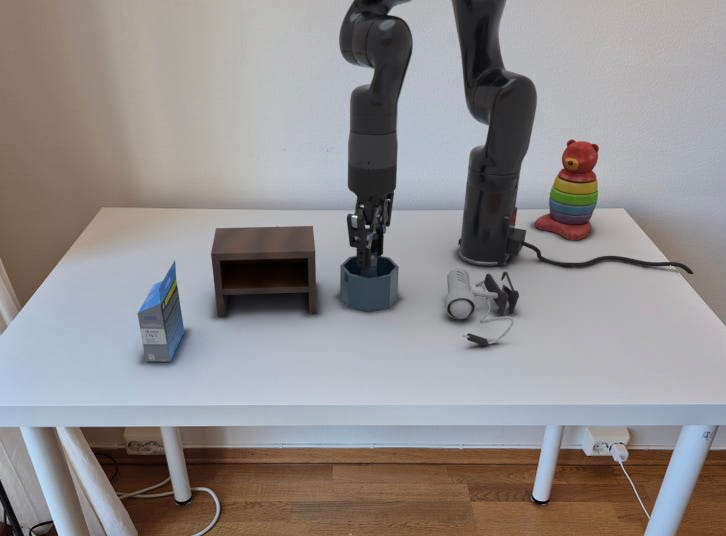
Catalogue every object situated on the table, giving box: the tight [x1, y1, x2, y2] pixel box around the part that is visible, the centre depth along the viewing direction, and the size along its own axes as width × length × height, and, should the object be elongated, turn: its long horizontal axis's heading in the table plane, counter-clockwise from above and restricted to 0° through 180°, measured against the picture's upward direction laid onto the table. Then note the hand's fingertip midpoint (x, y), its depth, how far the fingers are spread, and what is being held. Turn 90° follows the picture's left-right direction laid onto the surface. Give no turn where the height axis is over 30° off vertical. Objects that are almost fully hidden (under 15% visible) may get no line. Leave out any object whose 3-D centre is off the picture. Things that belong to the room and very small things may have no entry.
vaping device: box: [361, 226, 378, 278], centre depth 116 cm, size 3×5×12 cm, turn 174°
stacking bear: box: [534, 139, 600, 241], centre depth 141 cm, size 11×10×18 cm
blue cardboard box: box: [136, 260, 185, 363], centre depth 103 cm, size 9×4×12 cm, turn 178°
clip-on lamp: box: [443, 266, 520, 347], centre depth 112 cm, size 12×6×18 cm
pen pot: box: [339, 255, 400, 313], centre depth 118 cm, size 9×9×6 cm
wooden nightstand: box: [210, 225, 318, 318], centre depth 115 cm, size 16×10×11 cm, turn 95°
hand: (370, 260), depth 116 cm, fingers closed on vaping device, 5 cm apart
